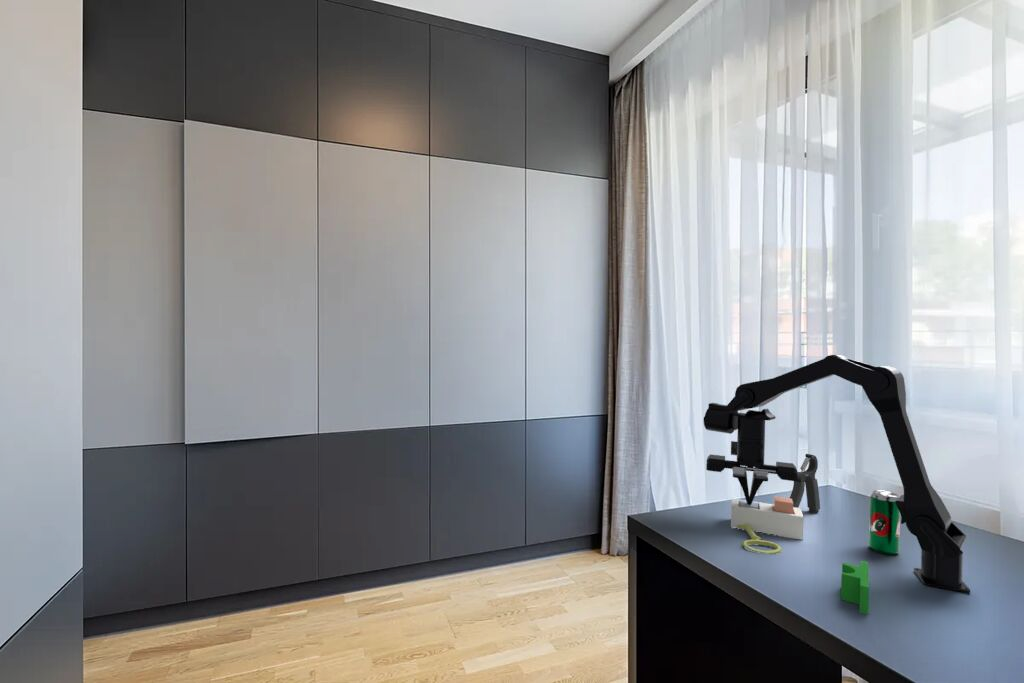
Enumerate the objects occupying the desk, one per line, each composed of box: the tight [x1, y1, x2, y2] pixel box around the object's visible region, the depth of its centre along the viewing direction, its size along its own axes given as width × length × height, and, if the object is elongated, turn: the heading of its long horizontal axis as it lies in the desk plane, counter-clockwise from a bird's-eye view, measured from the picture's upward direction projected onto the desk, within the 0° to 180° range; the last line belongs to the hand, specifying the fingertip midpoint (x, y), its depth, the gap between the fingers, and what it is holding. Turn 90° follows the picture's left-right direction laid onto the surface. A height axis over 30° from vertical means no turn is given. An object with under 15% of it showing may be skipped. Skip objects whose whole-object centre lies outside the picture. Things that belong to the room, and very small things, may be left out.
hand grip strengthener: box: [789, 453, 821, 514], centre depth 125 cm, size 2×12×15 cm, turn 118°
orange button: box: [773, 495, 793, 514], centre depth 114 cm, size 4×4×5 cm
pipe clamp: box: [840, 560, 870, 615], centre depth 86 cm, size 11×4×5 cm, turn 145°
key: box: [737, 524, 782, 555], centre depth 108 cm, size 7×12×2 cm, turn 11°
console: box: [730, 498, 804, 541], centre depth 115 cm, size 6×14×5 cm, turn 66°
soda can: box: [868, 489, 901, 556], centre depth 105 cm, size 5×5×12 cm
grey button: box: [740, 501, 758, 509], centre depth 117 cm, size 4×4×5 cm
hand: (749, 504), depth 117 cm, fingers closed, pressing on grey button
